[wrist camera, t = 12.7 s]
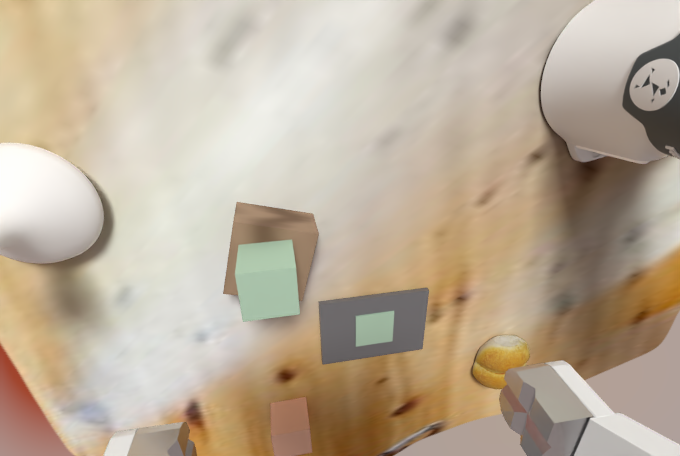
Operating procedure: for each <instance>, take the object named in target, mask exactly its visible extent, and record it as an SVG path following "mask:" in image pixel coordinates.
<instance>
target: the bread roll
mask: <svg viewBox="0 0 680 456" xmlns="http://www.w3.org/2000/svg"><path fill="white" fill-rule="evenodd" d="M529 357H530V350H529V347H528V344H527V343H526V342H525V340H523V339H522V338H520V337H518V336H516V335H500V336H496V337H493V338H491V339H489V340H488V341H487V342H486V343H485V344H484V345H483V346H481V348H480V349H479V351H478V353H477V356H476V360H475V362H474V365H473V370H472V373H473V375H474V377H475V378H476V379H477V380H478V381H479V382H480V383H481V384H482V385H484V386H486V387H489V388H493V389H503V388H504V387H505V386H506V385H507V383H506V381H505V380H504V376H505V373H506V371H507V370H508V369H511V368H516V367H522V366H526V362H527V361H528V359H529Z"/></svg>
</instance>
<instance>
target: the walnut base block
mask: <svg viewBox="0 0 680 456" xmlns="http://www.w3.org/2000/svg"><path fill="white" fill-rule="evenodd" d="M318 235H319V233H318V230H317V226H316V223H315V219H314V216H313V214H311V213H305V212H298V211H292V210H285V209H279V208H272V207H266V206H259V205H253V204H247V203H240V202H237V204H236V209H235V215H234V221H233V228H232V235H231V242H230V249H229V256H228V263H227V270H226V278H225V285H224V292H223V294H230V295H238V290H237V284H236V278H235V269H236V261H237V253H238V245H242V244H252V243H262V242H272V241H282V240H292V243H293V250H294V257H295V263H296V273H297V285H298V297H299V301H302V299H303V295H304V291H305V287H306V283H307V279H308V275H309V271H310V267H311V263H312V259H313V255H314V251H315V247H316V243H317V239H318Z"/></svg>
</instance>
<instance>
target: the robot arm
mask: <svg viewBox="0 0 680 456" xmlns="http://www.w3.org/2000/svg"><path fill="white" fill-rule="evenodd" d="M541 103H542V109H543V112H544V116H545V118H546V120H547V122H548V124H549V125H550V127H551V128H552V129H553V130H554V131H555V132H556V133H557V134H558V135H559V136H561V137H562V138H563V139H564V140H565V141H566V143H567V146H568V149H569V152H570V155H571V157H572V158H573V159H574V160H576V161H580V162H588V161H592V160H595V159H599V158H602V157H606V156H611V157H615V158H619V159H622V160H626V161H630V162H634V163H639V164H647V163H648V162H650V161H654V160H658V159H661V158H664V157H667V156H673V157H676V158H678V159H680V0H594V1H593V2H591V3H590V4H589V5H587V6H586V7H585V8H584V9H582V10H581V11H580V12H579V13H578V14H577V15H576V16H575V17H574V18H573V19H572V20H571V21H570V22H569V23H568V25H567V26H566V27H565V29H564V30H563V31H562V33H561V34H560V36H559V37H558V39H557V40H556V42H555V44H554V46H553V48H552V50H551V52H550V54H549V57H548V59H547V62H546V65H545V68H544V72H543V77H542V83H541ZM504 380H505V381H506V383H507V385H506V386H505V387H504V388H503V389H502V390H501V393H500V398H499V401H500V407H501V411H502V414H503V416H504V418H505V420H506V422H507V424H508V425H509V427H510V428H511V429H512V430H514V431H515V432H517V433H518V434H520V435H521V442H520V445H521V447H522V448H523V450H524V451H525V453H526V455H527V456H680V444H678V443H676V442H674V441H672V440H670V439H668V438H667V437H665V436H662V435H661V434H659V433H657V432H655V431H653V430H652V429H650V428H648V427H646V426H644V425H642V424H640V423H639V422H637V421H635V420H633V419H631V418H629V417H627V416H626V415H624V414H621V413H614V412H613V411H612V410H611V409H610V408H609V407H608V406H607V404H606V403H605V402H604V401H603V400H602V399H601V398H600V397H599V396H598V395H597V394H596V393H595V392H594V391H593V389H592V388H591V387H590V386H589V385H588V384H587V383H586V382H585V381H584V380H583V379H582V378H581V376H580V375H579V374H578V373H577V372H576V371H575V370H574V369H573V368H572V367H571V366H570V365H569V364H568V363H567V362H565V361H563V360H560V361H554V362H548V363H539V364H533V365H527V366H522V367H516V368H511V369H508V370H507V371H506V373H505V376H504ZM189 433H190V429H189V427H188V424H187V422H181V423H173V424H166V425H159V426H152V427H144V428H137V429H130V430H124V431H118V432H115V434H114V435H113V436H112V438H111V439H110V441H109V443H108V445H107V448H106V450H105V453H104V455H103V456H197V452H196V447H195V444H194V442H192V441H191V440H189V439H188V438H189Z"/></svg>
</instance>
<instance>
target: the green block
mask: <svg viewBox="0 0 680 456" xmlns="http://www.w3.org/2000/svg"><path fill="white" fill-rule="evenodd" d="M235 278H236V284H237V290H238V296H239V301H240V307H241V313H242V319H243V322H245V321H253V320H260V319H268V318H276V317H283V316H291V315H298V314H300V310H299V297H298V285H297V273H296V263H295V257H294V250H293V243H292V240H282V241H272V242H262V243H252V244H242V245H238V253H237V261H236V269H235Z"/></svg>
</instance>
